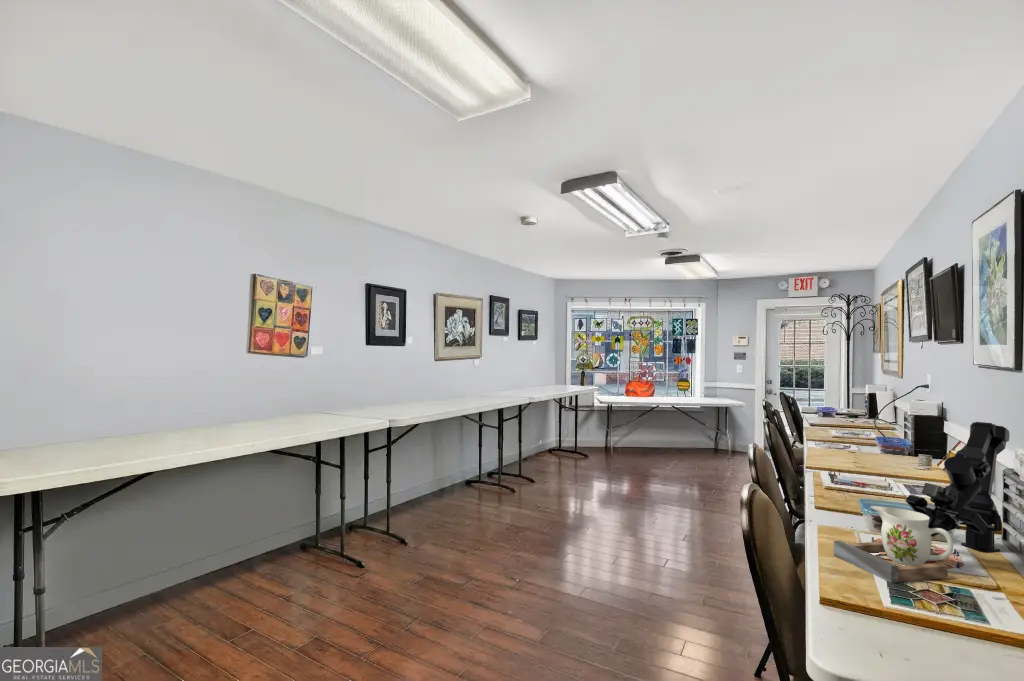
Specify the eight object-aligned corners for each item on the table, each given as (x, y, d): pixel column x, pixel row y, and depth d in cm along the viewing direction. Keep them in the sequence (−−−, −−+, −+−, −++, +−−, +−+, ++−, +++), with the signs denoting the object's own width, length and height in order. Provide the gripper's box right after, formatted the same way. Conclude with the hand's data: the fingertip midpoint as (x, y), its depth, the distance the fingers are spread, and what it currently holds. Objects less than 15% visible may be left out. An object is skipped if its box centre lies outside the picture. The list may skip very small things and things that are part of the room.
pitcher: (950, 580, 134) (950, 525, 134) (866, 560, 146) (865, 509, 147) (956, 568, 141) (955, 515, 142) (875, 549, 154) (875, 502, 154)
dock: (885, 551, 153) (885, 537, 153) (947, 577, 135) (947, 562, 135) (833, 555, 150) (833, 540, 150) (891, 582, 132) (891, 566, 132)
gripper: (910, 466, 155) (878, 506, 153) (978, 481, 137) (943, 526, 135) (932, 492, 157) (901, 532, 154) (1002, 511, 139) (968, 556, 136)
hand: (926, 536), depth 145 cm, fingers closed, pressing on pitcher
